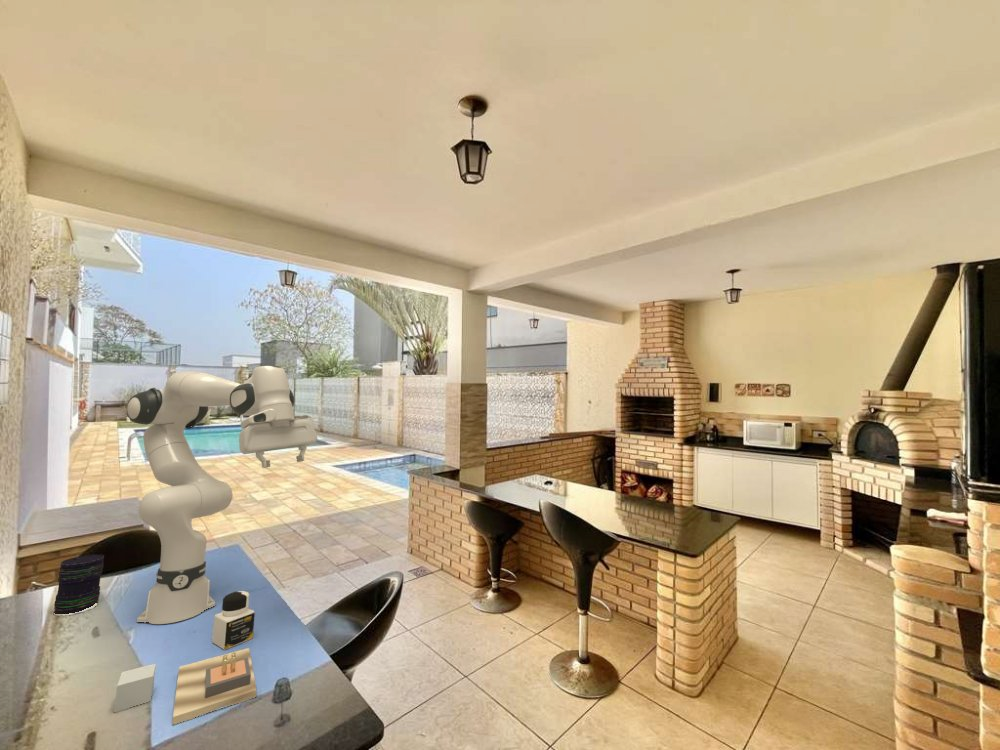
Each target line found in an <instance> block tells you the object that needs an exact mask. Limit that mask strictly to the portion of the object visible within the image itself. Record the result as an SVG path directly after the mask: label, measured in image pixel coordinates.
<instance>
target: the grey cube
mask: <svg viewBox="0 0 1000 750" xmlns="http://www.w3.org/2000/svg"><path fill="white" fill-rule="evenodd" d="M156 665H157V663H152V664H148V665H144V666H141V667H136V668H133V669H132V668H131V669H128V670H126V671H122V672H121V674H120V677H119V680H118V682H117V684H116V693H115V701H114V709H113V713H117V712H121V711H124V710H128V709H131V708H130V707H132V708H134V707H133V706H135V707H137V706H136V705H138V706H141V705H140V704H142V705H144V704H143V703H145V702H148V701H150V702H151V700H152V697H151V696H153V692H152V691H154V686H155V685H154V684H155V675H156V667H157V666H156ZM148 703H149V702H148ZM145 704H146V703H145ZM127 708H128V709H127Z"/></svg>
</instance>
